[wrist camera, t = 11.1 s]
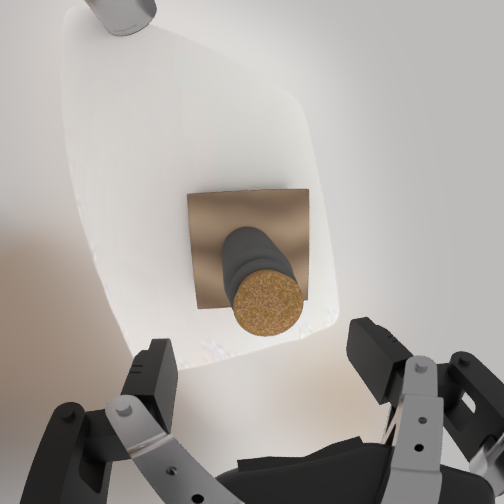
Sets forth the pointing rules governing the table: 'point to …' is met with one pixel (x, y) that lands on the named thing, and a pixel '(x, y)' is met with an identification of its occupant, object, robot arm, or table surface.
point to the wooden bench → (245, 215)
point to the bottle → (260, 283)
